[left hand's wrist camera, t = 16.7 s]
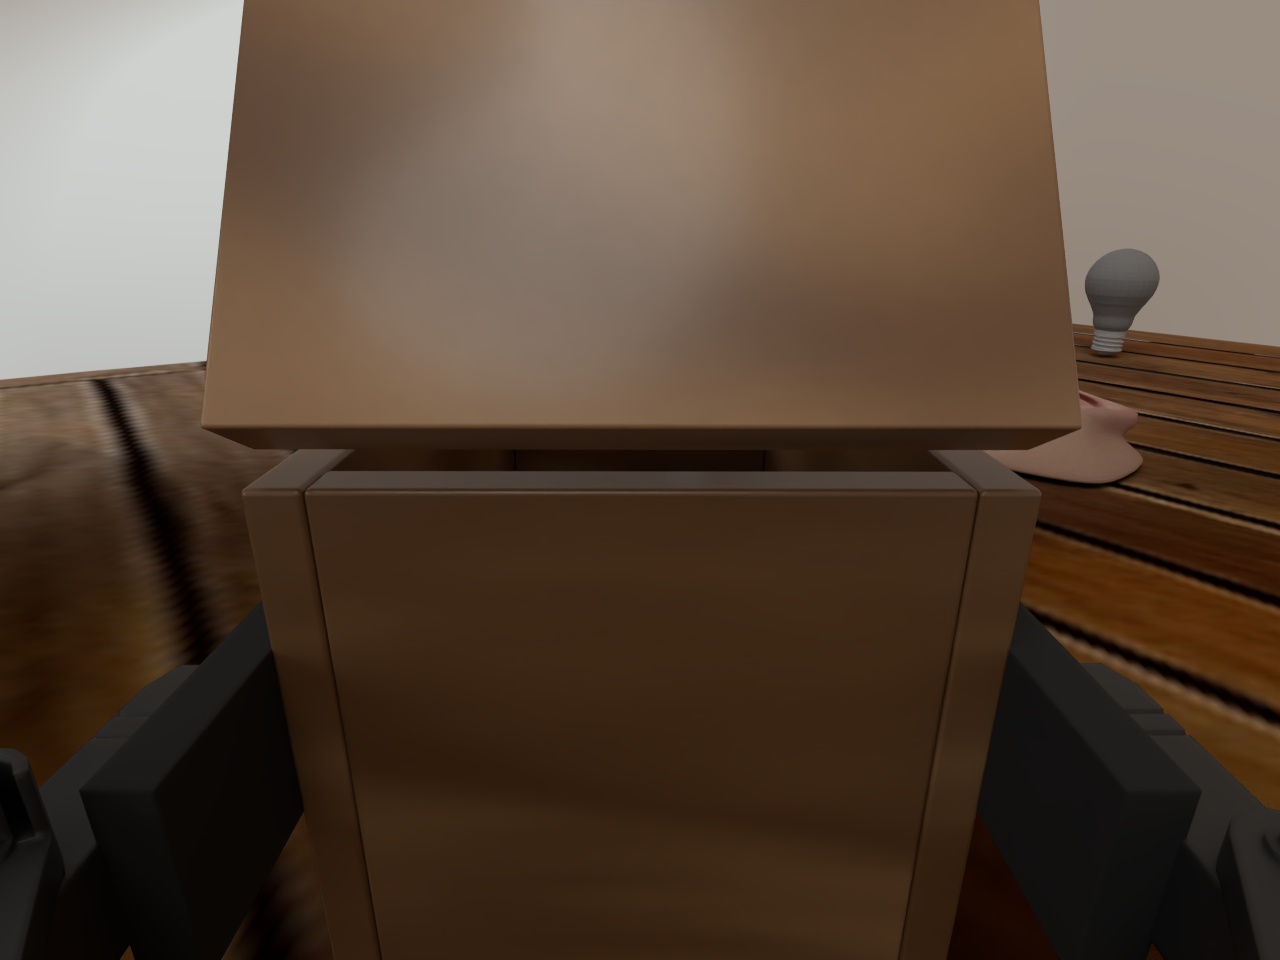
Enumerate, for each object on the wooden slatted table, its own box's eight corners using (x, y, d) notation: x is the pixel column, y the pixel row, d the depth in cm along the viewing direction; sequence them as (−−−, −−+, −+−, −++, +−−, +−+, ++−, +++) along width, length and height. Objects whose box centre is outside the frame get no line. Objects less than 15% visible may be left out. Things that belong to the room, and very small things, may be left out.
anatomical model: (1179, 418, 36) (929, 395, 40) (1159, 494, 37) (919, 463, 42) (1137, 368, 47) (945, 354, 52) (1123, 428, 48) (937, 409, 53)
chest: (506, 609, 27) (485, 315, 23) (772, 609, 27) (794, 316, 23) (353, 1070, 13) (236, 490, 9) (926, 1070, 13) (1045, 490, 9)
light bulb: (1085, 359, 71) (1108, 250, 67) (1061, 348, 76) (1081, 247, 73) (1153, 360, 70) (1179, 250, 67) (1123, 349, 76) (1147, 247, 72)
